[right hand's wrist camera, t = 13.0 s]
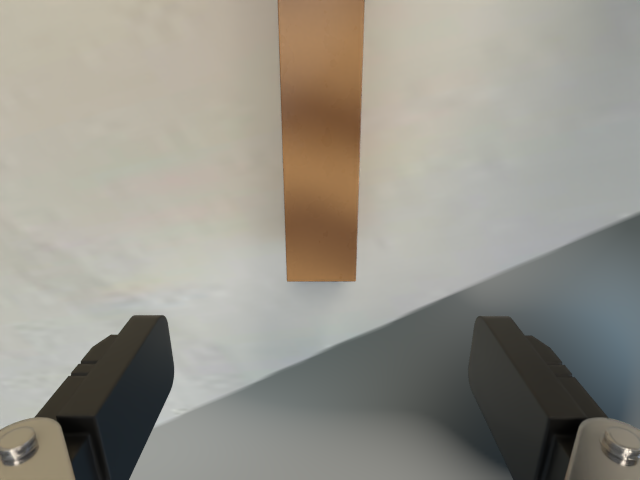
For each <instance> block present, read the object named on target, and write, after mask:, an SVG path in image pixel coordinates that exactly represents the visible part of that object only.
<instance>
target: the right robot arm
mask: <svg viewBox="0 0 640 480" xmlns="http://www.w3.org/2000/svg"><path fill="white" fill-rule="evenodd" d="M468 378H469V384H470V388H471V391H472V393H473V395H474V397H475V399H476V402H477V404H478V406H479V408H480V410H481V412H482V414H483V416H484V418H485V421H486V423H487V425H488V427H489V429H490V431H491V433H492V435H493V437H494V440H495V442H496V444H497V446H498V448H499V450H500V452H501V454H502V456H503V458H504V461H505V463H506V465H507V467H508V469H509V471H510V473H511V475H512V478H513V480H640V430H639V429H637V428H636V427H634V426H632V425H629V424H627V423H624V422H621V421H618V420H614V419H610V418H608V417H607V416H606V414H605V413H604V412H603V411H602V410H601V408H600V407H599V406H598V405H597V404H596V402H595V401H594V400H593V399H592V398H591V396H590V395H589V394H588V393H587V391H586V390H585V389H584V388H583V387H582V386H581V384H580V383H579V382H578V381H577V379H576V378H575V377H572V373H571V372H570V371H569V370H568V369H567V368H566V366H565V365H562V362H561V360H560V359H559V358H558V357H557V355H556V354H555V353H554V352H553V351H552V349H551V348H550V347H548V346H547V345H545V344H544V343H542V342H541V341H539V340H538V339H536V338H535V337H533V336H525V335H524V334H523V333H522V331H521V330H520V329H519V327H518V326H517V325H516V324H515V322H514V321H513V320H512V319H511V318H510V317H509V316H479V317H477V319H476V321H475V325H474V331H473V338H472V345H471V351H470V358H469V365H468ZM173 379H174V362H173V356H172V349H171V342H170V335H169V328H168V322H167V319H166V317H165V316H163V315H134V316H132V317H131V318H130V320H129V321H128V322H127V324H126V325H125V326H124V328H123V329H122V330H121V331H120V333H119V334H118V335H110V336H108V337H107V338H105V339H104V340H102V341H101V342H99V343H98V344H96V345H95V346H93V347H92V348H91V350H90V351H89V352H88V353H87V354H86V356H85V357H84V358H83V359H82V360H81V364H78V365H77V367H76V368H75V369H74V370H73V371H72V373H71V376H68V377H67V379H66V380H65V381H64V382H63V383H62V385H61V386H60V387H59V388H58V390H57V391H56V392H55V393H54V394H53V396H52V397H51V398H50V399H49V400H48V402H47V403H46V404H45V405H44V407H43V408H42V409H41V410H40V411H39V413H38V414H37V415H36V416H35V417H34V418H29V419H25V420H22V421H19V422H16V423H13V424H11V425H8V426H6V427H4V428H3V429H1V430H0V480H129V478H130V476H131V474H132V472H133V470H134V467H135V465H136V463H137V461H138V459H139V457H140V455H141V453H142V450H143V448H144V446H145V444H146V442H147V440H148V437H149V436H150V433H151V431H152V429H153V427H154V425H155V423H156V421H157V418H158V416H159V414H160V412H161V410H162V408H163V406H164V403H165V401H166V399H167V397H168V395H169V393H170V391H171V388H172V384H173Z"/></svg>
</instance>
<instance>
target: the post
mask: <svg viewBox="0 0 640 480" xmlns="http://www.w3.org/2000/svg"><path fill="white" fill-rule="evenodd" d="M278 21H279V52H280V82H281V113H282V143H283V174H284V204H285V235H286V265H287V281H356V259H357V226H358V194H359V161H360V129H361V97H362V64H363V32H364V0H278Z"/></svg>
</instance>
